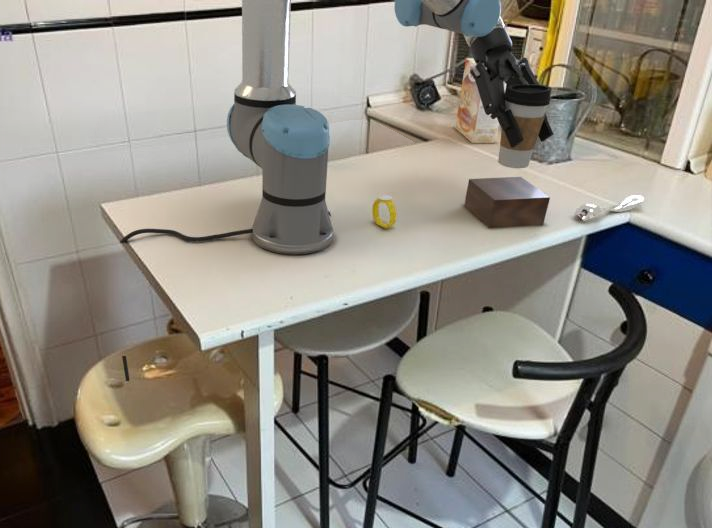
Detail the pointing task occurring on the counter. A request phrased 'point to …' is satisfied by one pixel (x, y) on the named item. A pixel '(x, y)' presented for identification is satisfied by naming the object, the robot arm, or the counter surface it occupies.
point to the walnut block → (506, 202)
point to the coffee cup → (524, 122)
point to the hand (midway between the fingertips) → (532, 140)
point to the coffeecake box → (474, 111)
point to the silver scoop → (593, 210)
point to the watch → (392, 210)
